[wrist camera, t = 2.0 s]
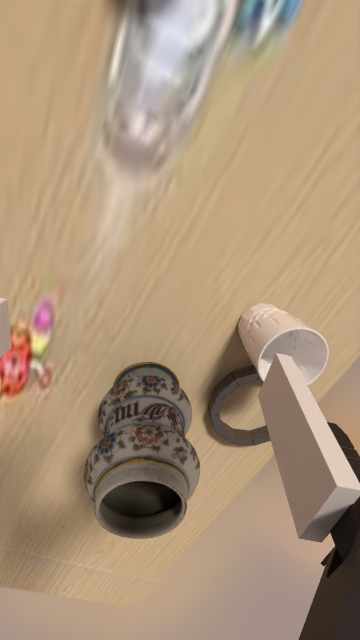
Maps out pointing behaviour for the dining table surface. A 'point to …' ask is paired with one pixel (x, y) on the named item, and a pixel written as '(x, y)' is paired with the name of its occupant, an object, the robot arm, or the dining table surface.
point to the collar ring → (217, 400)
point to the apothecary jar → (143, 454)
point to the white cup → (282, 341)
